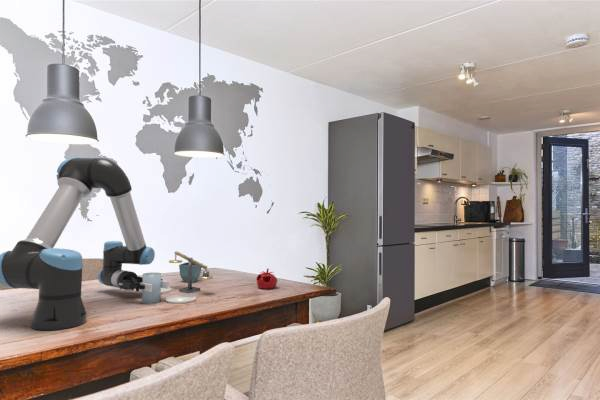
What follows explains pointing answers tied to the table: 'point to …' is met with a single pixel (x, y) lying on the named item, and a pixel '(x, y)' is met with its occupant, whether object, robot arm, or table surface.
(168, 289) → the dish high
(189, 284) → the balance
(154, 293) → the cup
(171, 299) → the dish low
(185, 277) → the flower pot
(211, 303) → the table surface
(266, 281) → the pomegranate
